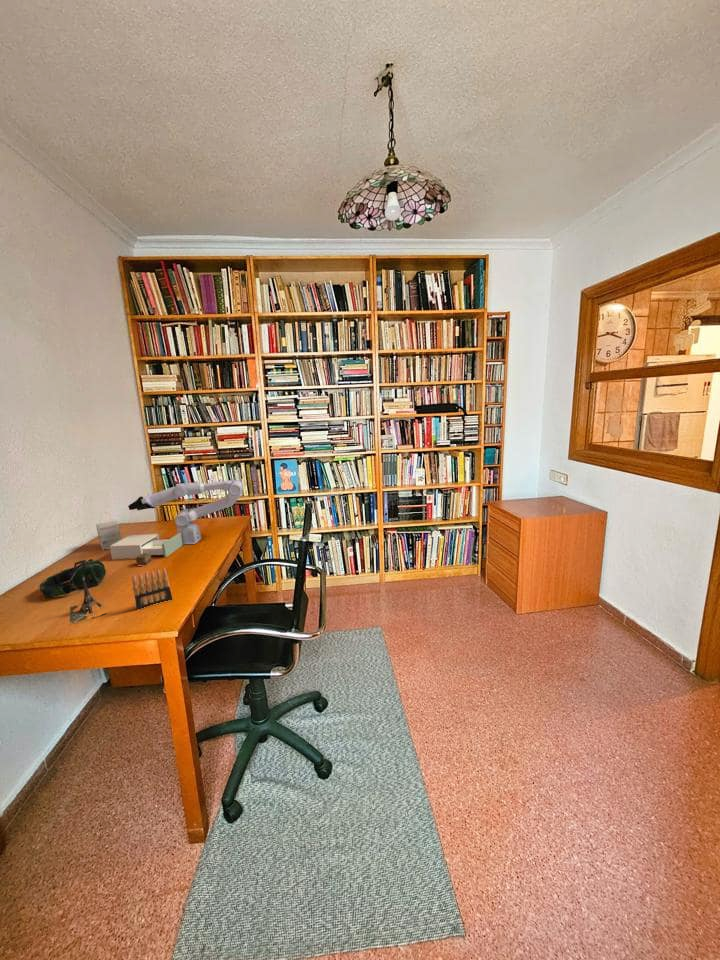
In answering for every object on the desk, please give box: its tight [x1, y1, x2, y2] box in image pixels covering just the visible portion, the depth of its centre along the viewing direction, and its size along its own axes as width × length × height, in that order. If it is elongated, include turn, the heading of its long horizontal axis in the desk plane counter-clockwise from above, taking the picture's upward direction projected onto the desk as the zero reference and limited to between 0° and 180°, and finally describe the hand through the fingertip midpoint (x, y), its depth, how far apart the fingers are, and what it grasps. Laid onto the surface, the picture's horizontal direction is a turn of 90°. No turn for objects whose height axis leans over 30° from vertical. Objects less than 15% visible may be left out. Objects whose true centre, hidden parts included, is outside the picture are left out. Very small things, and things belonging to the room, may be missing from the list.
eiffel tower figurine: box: [69, 574, 104, 623], centre depth 122 cm, size 15×10×13 cm
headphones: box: [38, 558, 107, 598], centre depth 139 cm, size 13×13×20 cm
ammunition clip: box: [131, 567, 173, 611], centre depth 123 cm, size 11×2×12 cm, turn 122°
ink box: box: [95, 519, 122, 551], centre depth 182 cm, size 9×9×12 cm
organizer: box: [109, 533, 160, 560], centre depth 171 cm, size 14×14×6 cm
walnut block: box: [135, 554, 153, 566], centre depth 158 cm, size 4×4×4 cm
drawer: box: [142, 532, 183, 558], centre depth 170 cm, size 14×14×6 cm
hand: (133, 508), depth 173 cm, fingers open, 7 cm apart
